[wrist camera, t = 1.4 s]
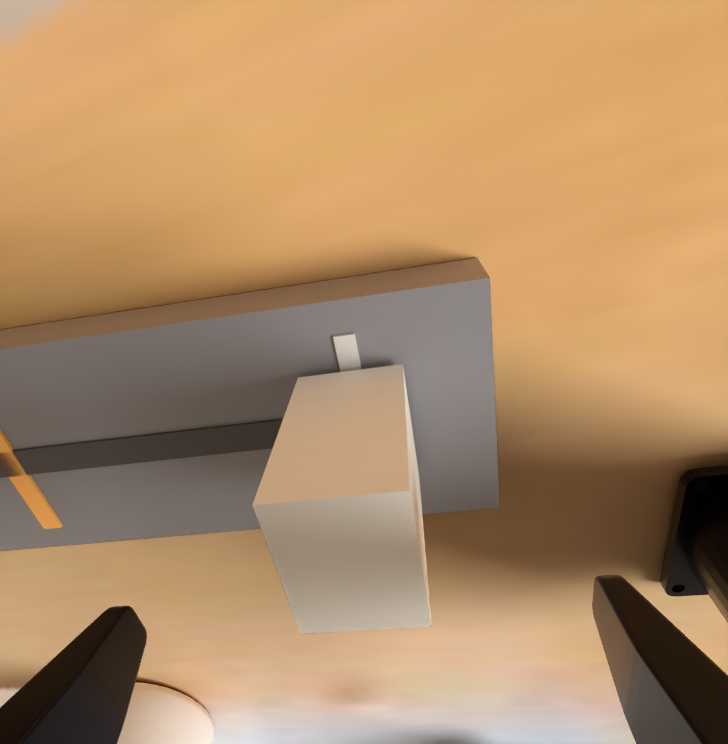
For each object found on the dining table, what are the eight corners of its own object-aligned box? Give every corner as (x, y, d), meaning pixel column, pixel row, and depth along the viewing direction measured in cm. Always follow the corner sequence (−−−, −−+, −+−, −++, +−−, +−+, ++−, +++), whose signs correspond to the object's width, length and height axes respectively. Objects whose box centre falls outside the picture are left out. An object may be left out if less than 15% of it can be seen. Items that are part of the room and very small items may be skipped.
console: (488, 468, 17) (500, 509, 15) (-72, 523, 20) (-118, 563, 18) (476, 257, 14) (490, 279, 12) (-207, 361, 17) (-281, 391, 15)
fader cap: (418, 475, 15) (431, 626, 10) (326, 484, 15) (300, 633, 11) (402, 364, 13) (410, 490, 8) (297, 377, 13) (252, 505, 9)
